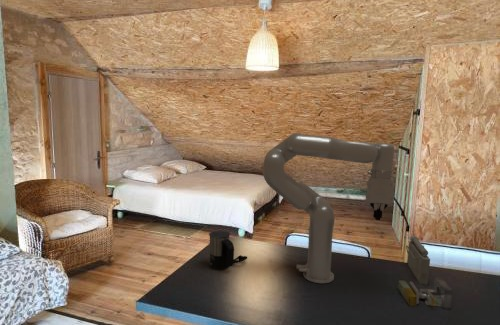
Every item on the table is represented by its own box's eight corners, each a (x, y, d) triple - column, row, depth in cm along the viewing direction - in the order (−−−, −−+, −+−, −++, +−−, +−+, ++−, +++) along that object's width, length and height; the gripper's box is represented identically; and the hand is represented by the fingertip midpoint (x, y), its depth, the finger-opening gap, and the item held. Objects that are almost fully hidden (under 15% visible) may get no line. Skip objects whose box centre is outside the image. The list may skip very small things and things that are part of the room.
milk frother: (204, 266, 146) (204, 234, 144) (226, 254, 159) (226, 225, 157) (230, 275, 138) (230, 241, 136) (251, 262, 151) (251, 231, 149)
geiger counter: (434, 252, 132) (416, 231, 156) (417, 250, 133) (401, 230, 157) (430, 285, 134) (413, 259, 158) (413, 283, 135) (399, 258, 159)
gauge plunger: (417, 306, 117) (418, 295, 117) (408, 292, 127) (409, 281, 126) (450, 310, 116) (452, 298, 115) (439, 295, 125) (440, 284, 125)
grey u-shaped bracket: (427, 306, 118) (429, 288, 117) (419, 293, 127) (420, 276, 126) (450, 308, 117) (452, 290, 116) (439, 295, 126) (441, 277, 125)
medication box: (397, 289, 130) (397, 279, 130) (404, 289, 130) (405, 279, 130) (409, 306, 119) (409, 295, 118) (416, 306, 118) (417, 296, 118)
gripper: (362, 174, 129) (359, 220, 132) (403, 177, 126) (399, 224, 129) (360, 171, 136) (356, 215, 139) (399, 174, 133) (394, 218, 136)
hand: (377, 219), depth 134 cm, fingers closed
